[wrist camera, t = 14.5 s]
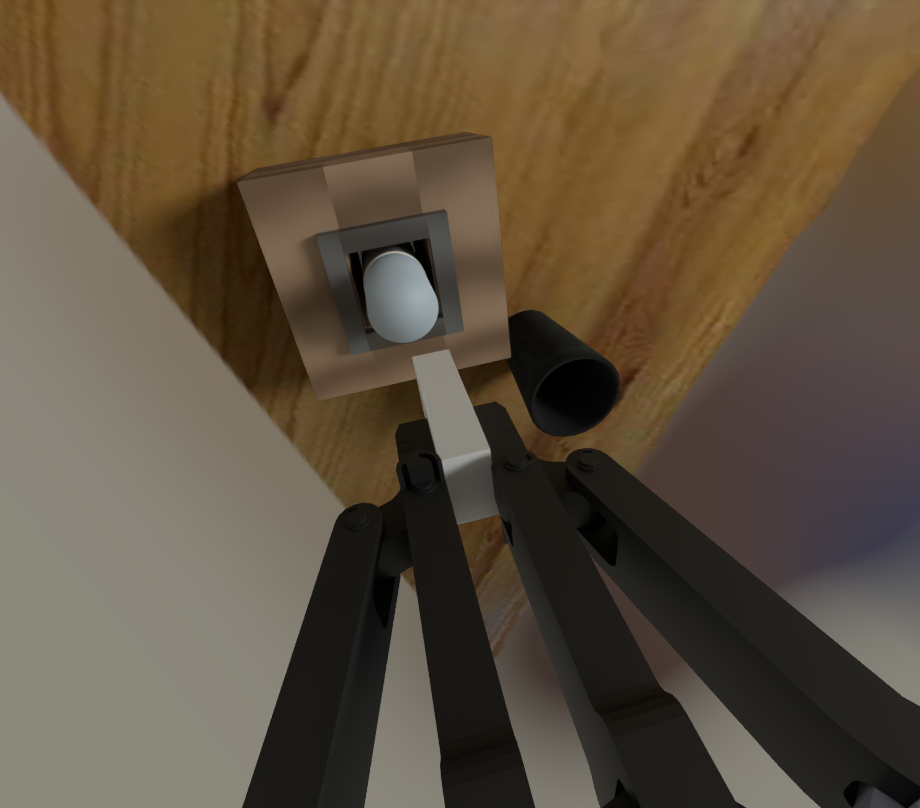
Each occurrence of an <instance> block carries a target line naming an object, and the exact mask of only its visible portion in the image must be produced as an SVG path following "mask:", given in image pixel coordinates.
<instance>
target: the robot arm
mask: <svg viewBox="0 0 920 808" xmlns="http://www.w3.org/2000/svg"><path fill="white" fill-rule="evenodd" d="M412 360H413V364H414V369H415V374H416V378H417V383H418V388H419V392H420V397H421V402H422V406H423V411H424V415H425V419H421V420H416V421H412V422H408V423H403V424H399V427H398V429H397V431H396V433H395V437H396V444H397V451H398V457H399V462H398V464H397V467H396V472H397V476H398V479H399V483H400V487H401V489H400V491H399V493H398V494H397V495H396V496H395V497H394V498H393V499H392V500H391V501H389V502H387V503H386V504H384V505H382V506H380V507H377V506H375V505H373V504H371V503H360V504H355V505H353V506H351V507H349V508H347V509H345V510H344V511H343V512H342V513H341V514H340V515H339V516H338V518H337V520H336V522H335V524H334V528H333V531H332V534H331V537H330V540H329V543H328V546H327V549H326V552H325V555H324V558H323V561H322V564H321V567H320V571H319V574H318V577H317V580H316V583H315V586H314V589H313V592H312V595H311V598H310V601H309V604H308V608H307V610H306V614H305V617H304V620H303V623H302V626H301V629H300V632H299V635H298V638H297V641H296V644H295V647H294V651H293V653H292V656H291V660H290V663H289V666H288V669H287V673H286V675H285V678H284V681H283V684H282V687H281V690H280V693H279V696H278V700H277V702H276V706H275V709H274V712H273V715H272V718H271V721H270V724H269V727H268V730H267V733H266V736H265V739H264V743H263V746H262V749H261V752H260V755H259V758H258V761H257V764H256V767H255V770H254V773H253V776H252V779H251V782H250V785H249V788H248V792H247V795H246V798H245V801H244V804H243V807H242V808H364V805H365V799H366V792H367V786H368V780H369V773H370V767H371V761H372V754H373V748H374V742H375V735H376V729H377V722H378V715H379V710H380V703H381V697H382V691H383V684H384V678H385V671H386V665H387V659H388V652H389V646H390V640H391V633H392V627H393V621H394V615H395V608H396V602H397V596H398V589H399V583H400V573H401V572H403V571H405V570H407V569H408V568H410V567H412V566H413V570H414V577H415V584H416V590H417V597H418V604H419V610H420V617H421V624H422V631H423V638H424V644H425V651H426V658H427V665H428V671H429V678H430V684H431V692H432V698H433V705H434V711H435V718H436V725H437V732H438V739H439V746H440V754H441V762H440V769H441V780H442V787H443V794H444V802H445V808H535V805H534V801H533V798H532V794H531V790H530V787H529V783H528V779H527V776H526V772H525V768H524V764H523V761H522V758H521V754H520V751H519V748H518V745H517V741H516V739H515V736H514V733H513V730H512V726H511V722H510V719H509V715H508V711H507V707H506V704H505V700H504V697H503V693H502V689H501V685H500V681H499V678H498V674H497V670H496V666H495V663H494V659H493V655H492V652H491V648H490V644H489V640H488V637H487V633H486V629H485V626H484V622H483V618H482V614H481V611H480V607H479V603H478V599H477V596H476V592H475V588H474V585H473V581H472V577H471V573H470V570H469V566H468V562H467V559H466V555H465V551H464V547H463V544H462V540H461V536H460V532H459V529H458V524H462V523H466V522H470V521H474V520H478V519H482V518H486V517H490V516H494V515H498V509H499V512H500V514H501V520H502V528H503V537H504V544H505V543H508V544H509V547H510V550H511V552H512V555H513V558H514V561H515V563H516V566H517V569H518V572H519V574H520V577H521V580H522V583H523V585H524V588H525V591H526V593H527V596H528V599H529V602H530V604H531V607H532V610H533V612H534V615H535V618H536V621H537V624H538V626H539V629H540V632H541V634H542V637H543V640H544V643H545V646H546V648H547V651H548V654H549V656H550V659H551V662H552V665H553V667H554V670H555V673H556V676H557V678H558V681H559V684H560V687H561V689H562V692H563V695H564V697H565V700H566V703H567V706H568V708H569V711H570V714H571V717H572V719H573V722H574V725H575V728H576V730H577V733H578V736H579V739H580V741H581V744H582V747H583V750H584V752H585V755H586V758H587V761H588V764H589V767H590V770H591V775H592V779H593V784H594V788H595V791H596V795H597V799H598V802H599V805H600V808H745V807H744V806H742V805H741V804H739V803H737V802H736V801H735V800H734V798H733V796H732V794H731V792H730V791H729V789H728V787H727V785H726V784H725V782H724V780H723V778H722V776H721V775H720V773H719V771H718V769H717V767H716V765H715V764H714V762H713V760H712V758H711V756H710V755H709V753H708V751H707V749H706V747H705V746H704V744H703V742H702V740H701V738H700V737H699V735H698V733H697V731H696V730H695V728H694V726H693V724H692V722H691V720H690V719H689V717H688V715H687V713H686V712H685V710H684V709H683V707H682V706H681V704H680V703H679V701H678V700H677V699H676V698H675V697H674V696H673V695H672V694H670V693H668V692H665V691H664V690H663V689H662V688H661V687H660V685H659V684H658V682H657V680H656V678H655V676H654V674H653V673H652V671H651V669H650V667H649V665H648V663H647V661H646V660H645V658H644V656H643V654H642V652H641V650H640V648H639V646H638V645H637V643H636V641H635V639H634V637H633V635H632V634H631V632H630V630H629V628H628V626H627V624H626V622H625V620H624V618H623V617H622V615H621V613H620V611H619V609H618V608H617V605H616V604H615V602H614V600H613V598H612V596H611V594H610V592H609V591H608V589H607V587H606V585H605V583H604V581H603V579H602V577H601V576H600V574H599V572H598V570H597V568H596V566H595V564H594V563H593V561H592V559H591V557H592V558H593V559H594V560H595V561H596V562H597V563H598V564H599V566H600V567H601V568H602V569H603V570H604V571H605V572H606V573H607V575H608V576H609V577H610V578H611V579H612V580H613V581H614V582H615V583H616V584H617V586H618V587H619V588H620V589H621V590H622V591H623V592H624V594H625V595H626V596H627V597H628V598H629V599H630V600H631V601H632V602H633V603H634V605H635V606H636V607H637V608H638V609H639V610H640V611H641V613H642V614H643V615H644V616H645V617H646V618H647V619H648V620H649V621H650V622H651V624H652V625H653V626H654V627H655V628H656V629H657V630H658V631H659V633H660V634H661V635H662V636H663V637H664V638H665V639H666V640H667V642H668V643H669V644H670V645H671V646H672V647H673V648H674V649H675V650H676V652H677V653H678V654H679V655H680V656H681V657H682V658H683V659H684V661H685V662H687V664H688V665H689V666H690V667H691V668H692V669H693V671H695V673H696V674H697V675H698V676H699V677H700V678H701V680H702V681H703V682H704V683H705V684H706V685H707V686H708V687H709V688H710V690H711V691H712V692H713V693H714V694H715V695H716V696H717V697H718V699H720V701H721V702H722V703H723V704H724V705H725V706H726V707H727V709H728V710H729V711H730V712H731V713H732V714H733V715H734V716H735V717H736V718H737V720H738V721H739V722H740V723H741V724H742V725H743V726H744V728H745V729H746V730H747V731H748V732H749V733H750V734H751V735H752V736H753V737H754V739H755V740H756V741H757V742H758V743H759V744H760V745H761V746H762V748H763V749H764V750H765V751H766V752H767V753H768V754H769V755H770V757H771V758H772V759H773V760H774V761H775V762H776V763H777V764H778V766H779V767H780V768H781V769H782V770H783V771H784V772H785V773H786V774H787V775H788V776H789V777H790V778H791V779H792V780H793V781H794V782H795V783H796V784H797V785H798V786H799V787H800V788H801V789H802V790H803V792H805V794H807V795H808V796H809V797H810V798H811V799H812V800H813V801H814V802H815V803H816V804H818V805H819V806H820V807H821V808H920V706H918V705H916V704H915V703H913V702H911V701H909V700H907V699H906V698H904V697H902V696H901V695H900V694H899V693H897V692H896V691H895V690H894V689H893V688H891V687H890V686H889V685H887V684H886V683H885V682H884V681H883V680H882V679H880V678H879V677H878V676H877V675H875V674H874V673H873V672H872V671H871V670H869V669H868V668H867V667H866V666H864V665H863V664H862V663H861V662H860V661H858V660H857V659H856V658H855V657H853V656H852V655H851V654H850V653H849V652H847V651H846V650H845V649H844V648H843V647H841V646H840V645H839V644H838V643H836V642H835V641H834V640H833V639H832V638H830V637H829V636H828V635H826V634H825V633H824V632H823V631H822V630H821V629H819V628H818V627H817V626H816V625H814V624H813V623H812V622H811V621H810V620H808V619H807V618H806V617H805V616H803V615H802V614H801V613H800V612H798V611H797V610H796V609H795V608H794V607H792V606H791V605H790V604H789V603H788V602H786V601H785V600H784V599H783V598H782V597H780V596H779V595H778V594H777V593H775V592H774V591H773V590H772V589H771V588H769V587H768V586H767V585H766V584H764V583H763V582H762V581H761V580H759V579H758V578H757V577H756V576H755V575H753V574H752V573H751V572H749V571H748V570H747V569H746V568H745V567H744V566H742V565H741V564H740V563H739V562H738V561H736V560H735V559H734V558H733V557H731V556H730V555H729V554H728V553H727V552H725V551H724V550H723V549H722V548H720V547H719V546H718V545H717V544H715V543H714V542H713V541H712V540H711V539H709V538H708V537H707V536H706V535H705V534H703V533H702V532H701V531H700V530H698V529H697V528H696V527H695V526H694V525H692V524H691V523H690V522H689V521H688V520H686V519H685V518H684V517H683V516H681V515H680V514H679V513H678V512H677V511H675V510H674V509H673V508H672V507H670V506H669V505H668V504H667V503H666V502H664V501H663V500H662V499H661V498H659V497H658V496H657V495H656V494H655V493H653V492H652V491H651V490H650V489H648V488H647V487H646V486H645V485H644V484H642V483H641V482H640V481H639V480H638V479H636V478H635V477H634V476H633V475H631V474H630V473H629V472H628V471H627V470H625V469H624V468H623V467H622V466H620V465H619V464H618V463H617V462H616V461H614V460H613V459H612V458H611V457H609V456H608V455H607V454H605V453H604V452H602V451H600V450H596V449H592V448H582V449H579V450H575V451H573V452H572V453H570V454H569V455H568V457H567V459H566V462H550V461H543V460H540V459H538V458H537V457H536V456H535V455H534V454H533V453H531V452H529V451H528V450H527V449H526V447H525V445H524V443H523V441H522V439H521V437H520V435H519V433H518V432H517V430H516V428H515V426H514V425H513V422H512V420H511V418H510V416H509V414H508V412H507V411H506V409H505V408H504V407H503V406H501V405H500V404H498V403H497V402H491V403H487V404H483V405H478V406H474V407H473V406H472V404H471V402H470V399H469V397H468V394H467V392H466V390H465V387H464V385H463V382H462V380H461V378H460V375H459V373H458V371H457V368H456V366H455V363H454V361H453V359H452V356H451V354H450V351H449V349H447V350H442V351H437V352H433V353H428V354H423V355H419V356H414V357H412ZM497 506H498V509H497ZM589 554H590V555H591V557H590V555H589Z"/></svg>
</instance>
